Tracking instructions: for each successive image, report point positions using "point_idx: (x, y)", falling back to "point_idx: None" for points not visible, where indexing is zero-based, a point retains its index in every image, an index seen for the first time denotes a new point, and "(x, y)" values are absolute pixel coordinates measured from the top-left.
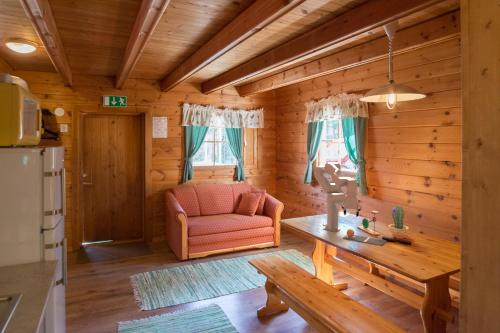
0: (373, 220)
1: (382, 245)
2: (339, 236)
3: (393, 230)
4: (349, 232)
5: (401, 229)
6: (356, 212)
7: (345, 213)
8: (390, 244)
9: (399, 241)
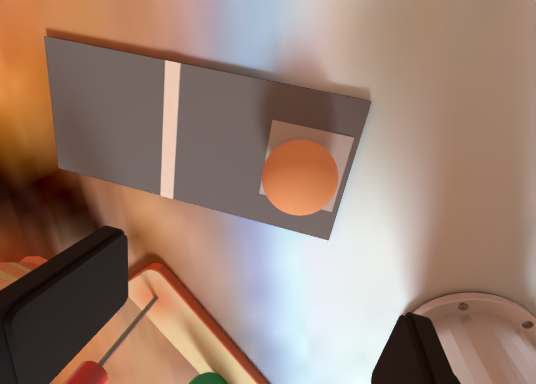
0: (88, 375)
1: (49, 41)
2: (403, 166)
3: (6, 280)
4: (305, 147)
5: None
6: (20, 301)
7: (398, 372)
8: (22, 102)
9: (8, 191)
